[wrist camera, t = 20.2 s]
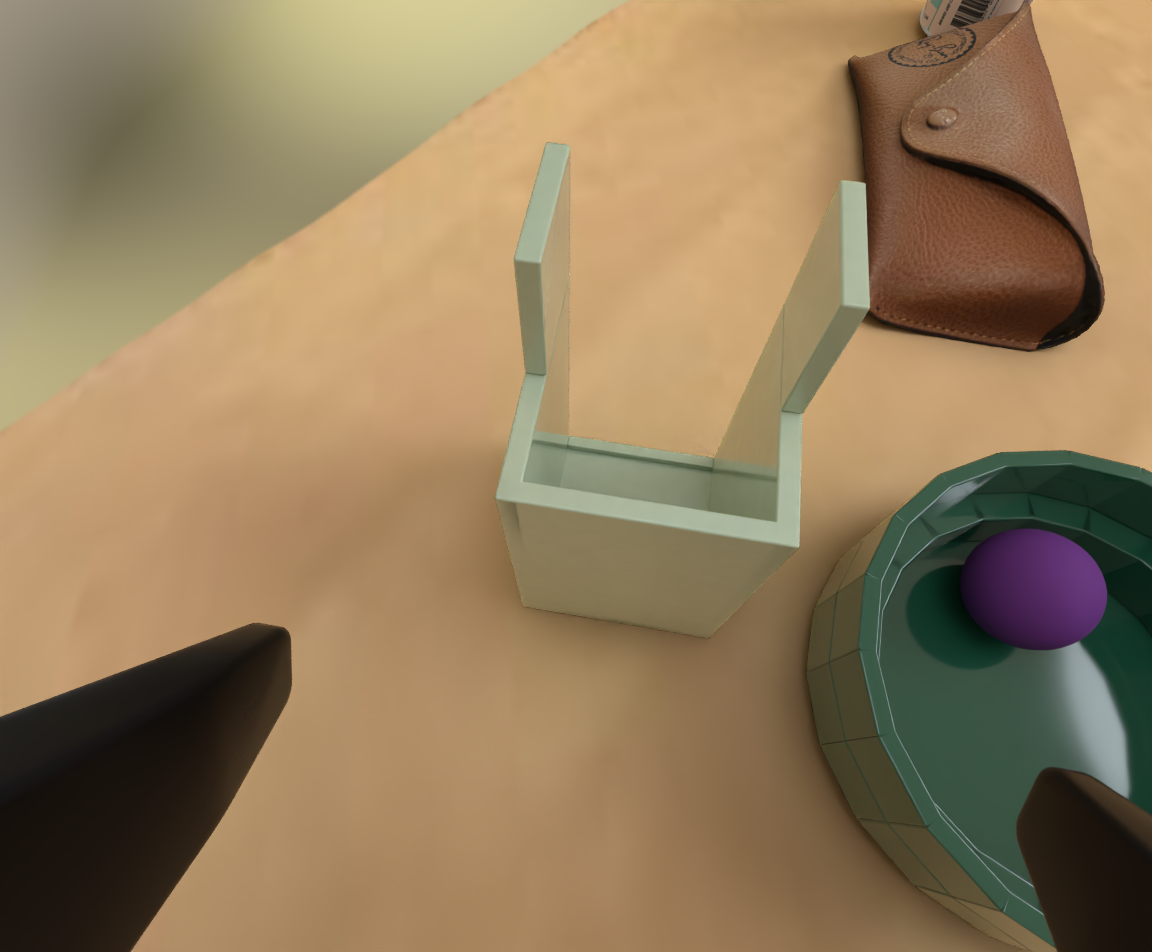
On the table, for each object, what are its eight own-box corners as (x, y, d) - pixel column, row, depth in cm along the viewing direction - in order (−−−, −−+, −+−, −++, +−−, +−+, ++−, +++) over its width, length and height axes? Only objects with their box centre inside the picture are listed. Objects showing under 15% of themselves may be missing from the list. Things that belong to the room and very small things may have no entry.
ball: (1004, 592, 22) (1034, 687, 20) (924, 546, 22) (944, 638, 19) (1111, 540, 20) (1161, 641, 17) (1024, 486, 19) (1063, 583, 16)
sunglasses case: (838, 48, 33) (968, -80, 28) (922, 123, 36) (1053, 21, 31) (859, 324, 26) (1042, 220, 20) (962, 390, 29) (1146, 315, 23)
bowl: (1074, 1082, 16) (1245, 1183, 12) (717, 665, 20) (754, 636, 16) (1315, 738, 20) (1509, 727, 16) (968, 444, 24) (1050, 375, 20)
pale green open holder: (709, 639, 21) (877, 470, 10) (522, 606, 21) (470, 408, 10) (723, 469, 23) (866, 181, 12) (555, 443, 24) (545, 140, 13)
